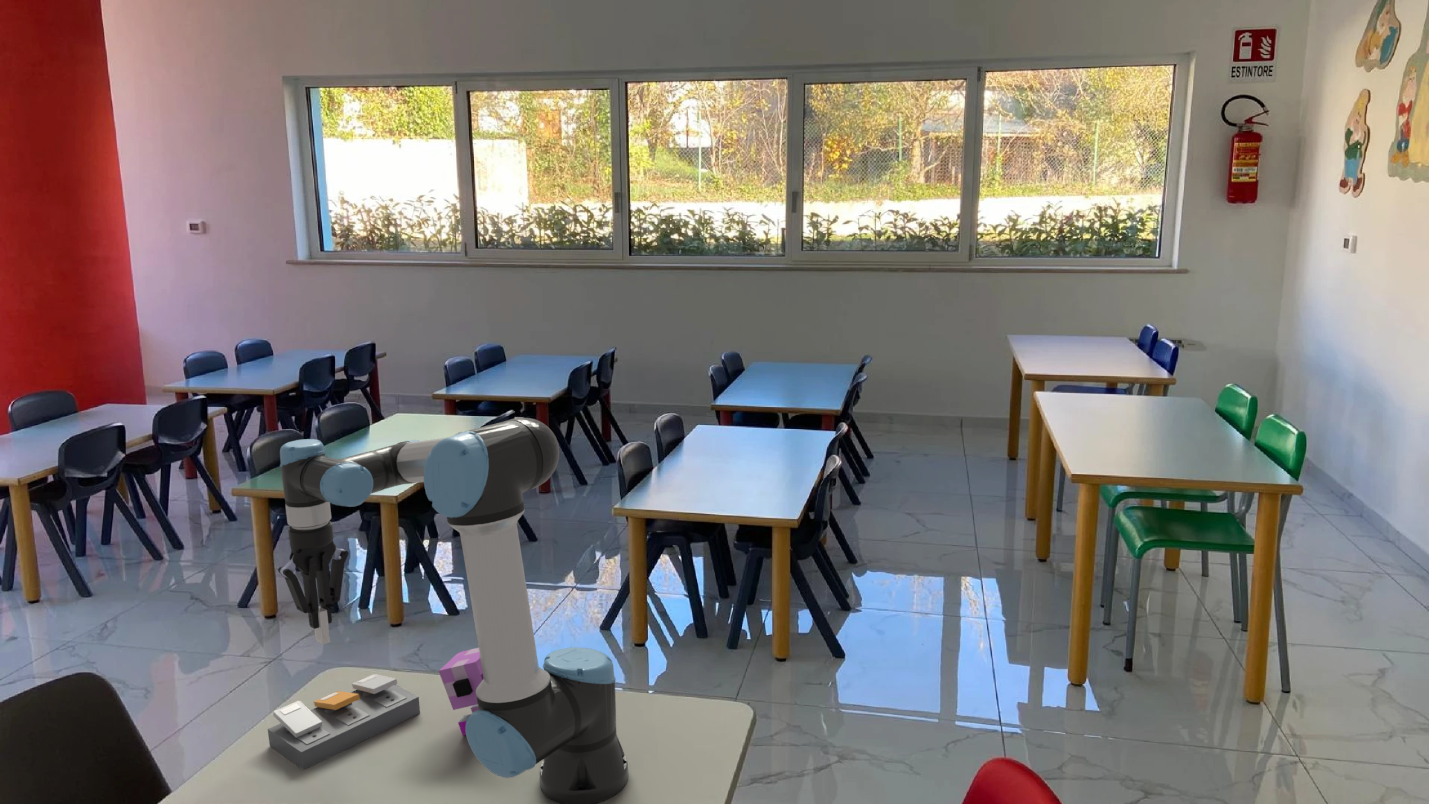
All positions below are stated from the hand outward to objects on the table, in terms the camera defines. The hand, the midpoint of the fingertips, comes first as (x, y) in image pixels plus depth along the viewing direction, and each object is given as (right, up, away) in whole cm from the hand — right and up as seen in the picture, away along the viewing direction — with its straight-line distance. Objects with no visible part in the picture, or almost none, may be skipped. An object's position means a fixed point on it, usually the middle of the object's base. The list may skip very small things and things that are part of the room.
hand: (322, 641), depth 186 cm
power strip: (+5, -17, 0) cm, 17 cm away
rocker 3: (+8, -11, +7) cm, 15 cm away
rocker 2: (+3, -12, +1) cm, 13 cm away
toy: (+30, -16, +1) cm, 34 cm away
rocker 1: (-2, -14, -5) cm, 15 cm away
